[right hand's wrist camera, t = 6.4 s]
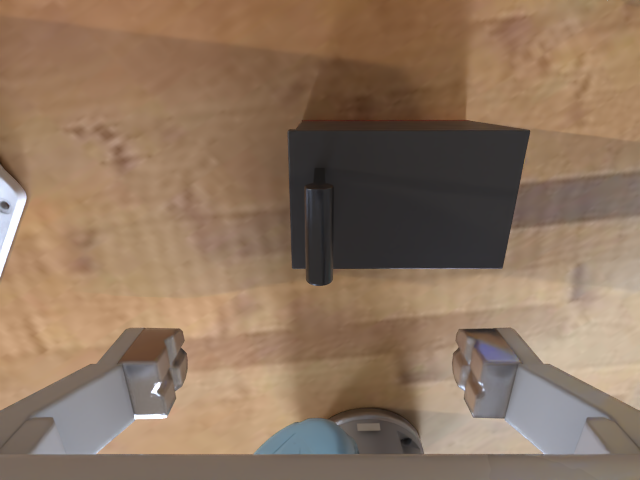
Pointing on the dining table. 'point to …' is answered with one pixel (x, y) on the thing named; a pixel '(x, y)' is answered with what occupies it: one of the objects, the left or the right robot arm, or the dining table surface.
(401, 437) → the left robot arm
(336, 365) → the dining table surface
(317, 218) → the lid
